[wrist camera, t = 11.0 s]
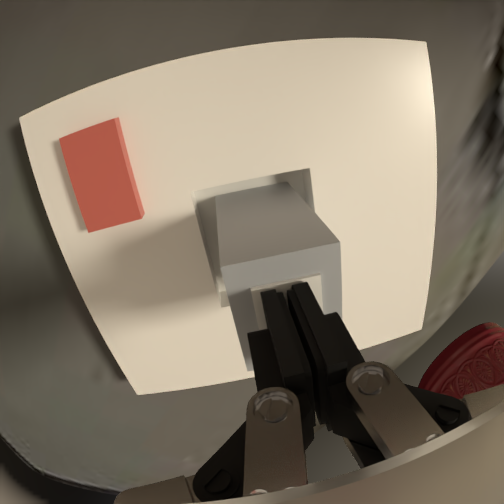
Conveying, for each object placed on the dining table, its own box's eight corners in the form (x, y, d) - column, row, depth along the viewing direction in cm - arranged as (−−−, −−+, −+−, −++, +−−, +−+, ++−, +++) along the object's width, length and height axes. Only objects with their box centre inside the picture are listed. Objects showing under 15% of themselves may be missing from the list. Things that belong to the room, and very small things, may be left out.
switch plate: (407, 44, 15) (434, 40, 12) (409, 314, 24) (426, 335, 21) (36, 114, 14) (11, 119, 12) (140, 375, 23) (136, 402, 21)
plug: (287, 181, 18) (342, 243, 10) (297, 260, 20) (343, 351, 13) (215, 195, 18) (220, 269, 10) (232, 274, 20) (248, 374, 13)
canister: (395, 411, 31) (455, 537, 15) (449, 321, 25) (556, 464, 10) (467, 394, 33) (526, 489, 17) (516, 316, 28) (602, 413, 12)
